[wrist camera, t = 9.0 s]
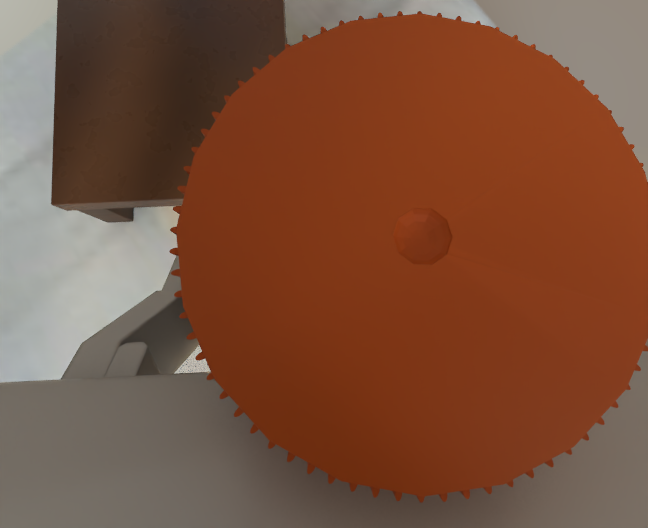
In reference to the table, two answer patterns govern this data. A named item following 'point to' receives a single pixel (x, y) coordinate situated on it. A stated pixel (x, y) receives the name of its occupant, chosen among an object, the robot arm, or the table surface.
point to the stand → (147, 93)
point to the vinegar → (416, 255)
